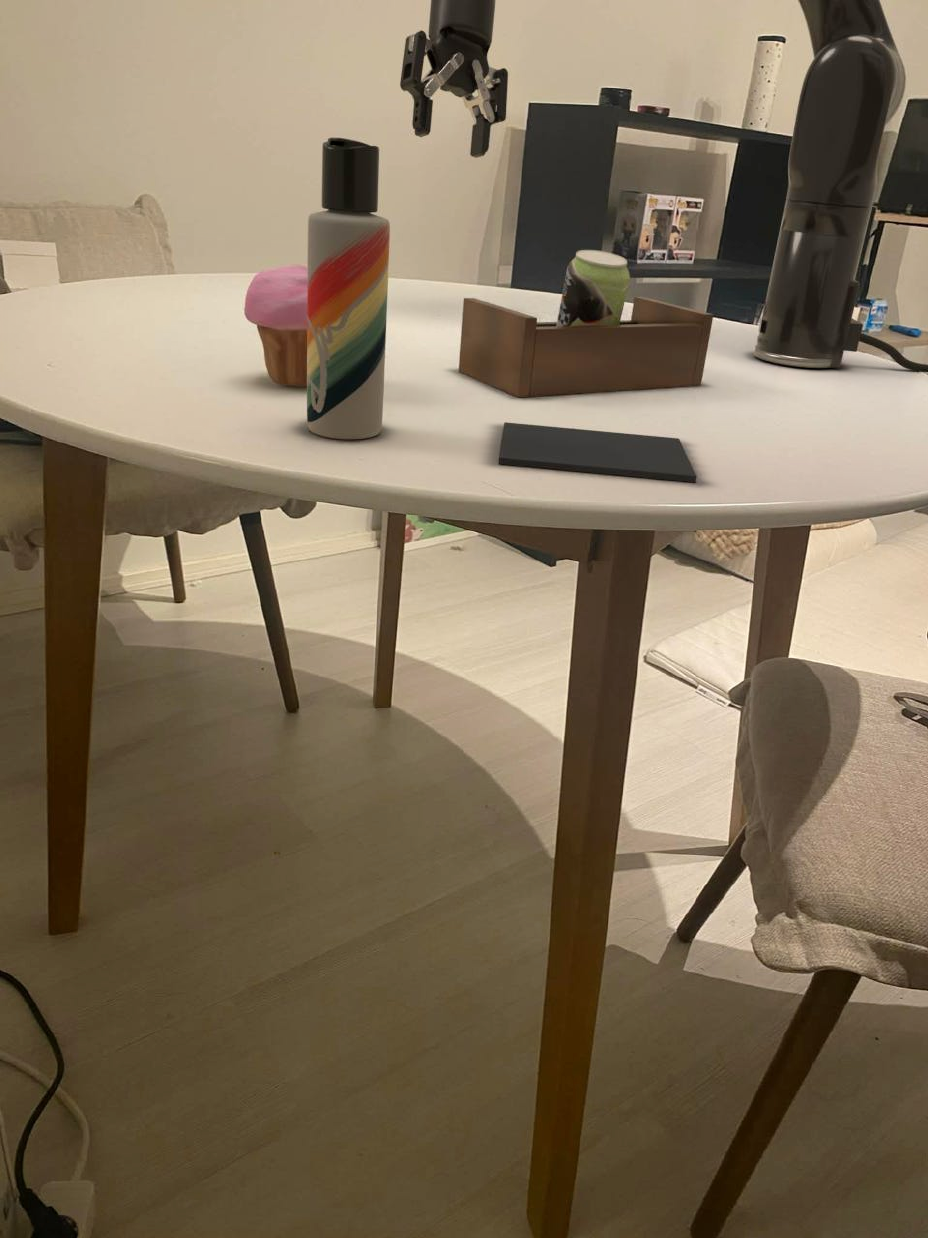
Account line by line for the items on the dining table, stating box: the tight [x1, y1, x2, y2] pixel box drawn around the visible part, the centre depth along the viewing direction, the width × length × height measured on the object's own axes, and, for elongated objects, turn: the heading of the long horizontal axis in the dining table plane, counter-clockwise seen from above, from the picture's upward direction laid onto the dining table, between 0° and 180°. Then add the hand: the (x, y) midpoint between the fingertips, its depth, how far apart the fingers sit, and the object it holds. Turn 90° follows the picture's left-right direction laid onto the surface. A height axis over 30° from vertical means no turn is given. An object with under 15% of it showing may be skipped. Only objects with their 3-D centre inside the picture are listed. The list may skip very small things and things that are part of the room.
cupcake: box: [243, 264, 308, 387], centre depth 85 cm, size 9×9×10 cm
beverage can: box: [556, 249, 631, 326], centre depth 96 cm, size 6×7×12 cm
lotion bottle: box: [306, 137, 391, 440], centre depth 70 cm, size 6×6×20 cm
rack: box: [458, 296, 714, 398], centre depth 97 cm, size 11×22×7 cm, turn 121°
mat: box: [498, 421, 698, 483], centre depth 74 cm, size 14×10×1 cm
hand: (450, 145), depth 117 cm, fingers open, 8 cm apart
